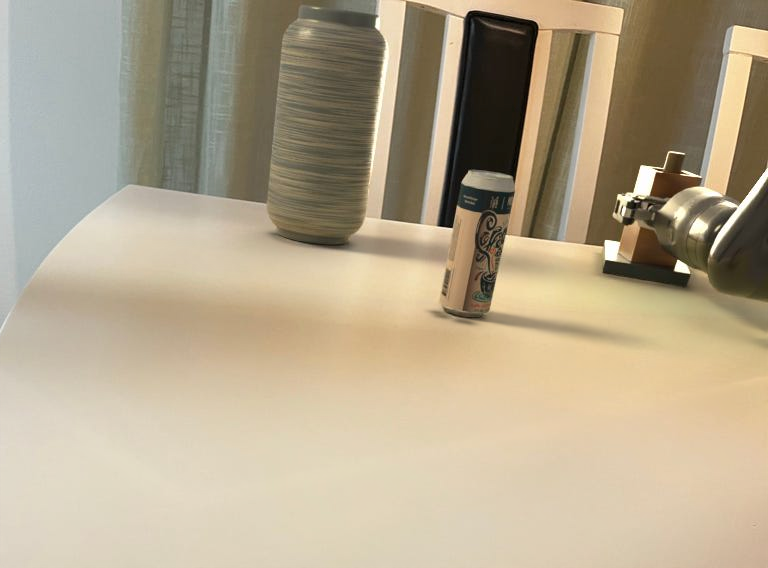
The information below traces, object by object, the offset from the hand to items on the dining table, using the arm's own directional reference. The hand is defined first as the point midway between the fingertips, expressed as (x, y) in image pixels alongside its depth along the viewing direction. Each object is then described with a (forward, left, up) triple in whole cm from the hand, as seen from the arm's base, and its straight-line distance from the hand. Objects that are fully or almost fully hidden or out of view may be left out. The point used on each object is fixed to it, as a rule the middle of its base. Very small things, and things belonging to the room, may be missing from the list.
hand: (654, 205), depth 122 cm
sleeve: (-1, +2, -6) cm, 6 cm away
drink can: (+17, +41, -8) cm, 45 cm away
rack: (-1, -1, -7) cm, 7 cm away
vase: (+38, +16, -8) cm, 42 cm away
